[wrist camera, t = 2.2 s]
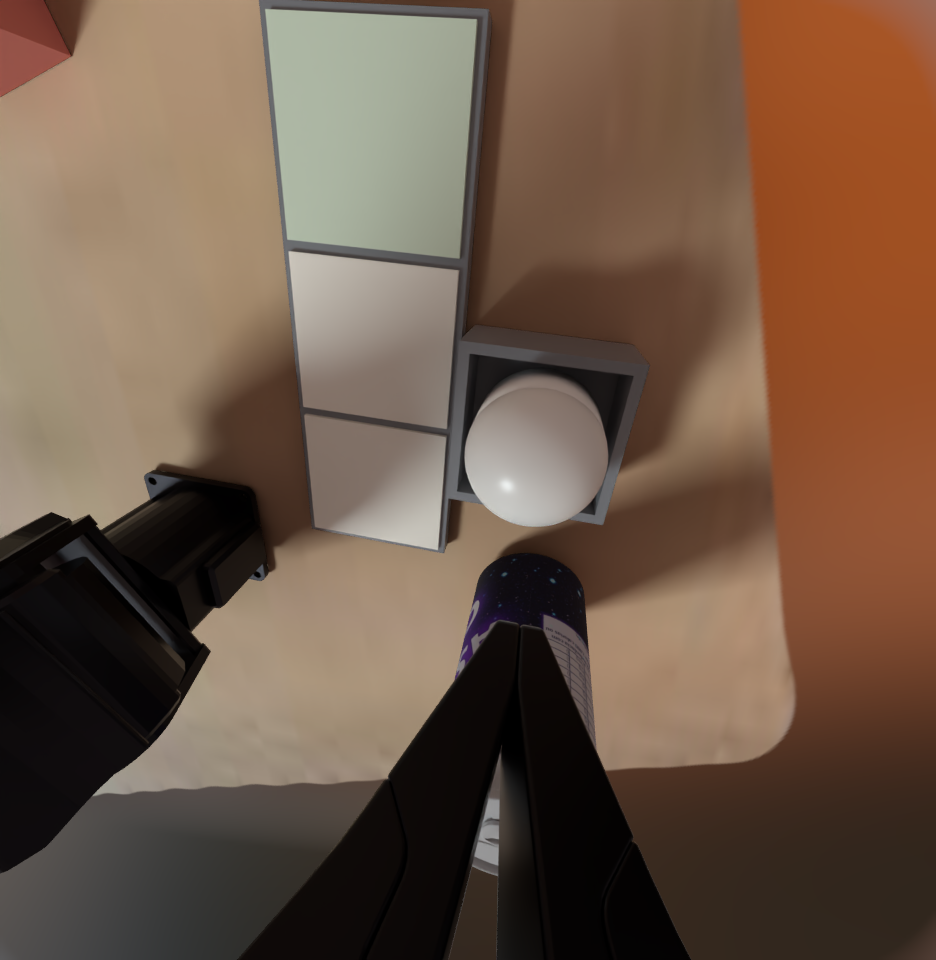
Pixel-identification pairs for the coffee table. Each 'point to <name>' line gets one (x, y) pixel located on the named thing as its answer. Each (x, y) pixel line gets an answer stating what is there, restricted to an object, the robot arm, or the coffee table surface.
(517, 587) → the beverage can
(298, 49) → the game board
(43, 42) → the die
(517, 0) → the coffee table surface
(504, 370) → the dome base
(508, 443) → the dome
